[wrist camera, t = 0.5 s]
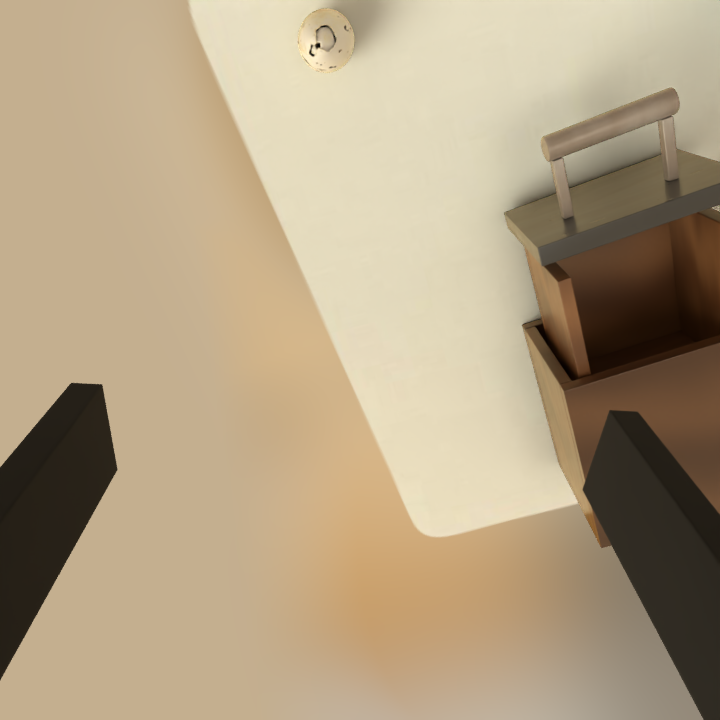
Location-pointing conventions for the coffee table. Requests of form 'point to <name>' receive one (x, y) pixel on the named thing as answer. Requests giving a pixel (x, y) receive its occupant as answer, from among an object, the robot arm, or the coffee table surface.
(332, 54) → the egg
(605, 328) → the drawer
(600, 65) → the coffee table surface
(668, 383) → the cabinet
